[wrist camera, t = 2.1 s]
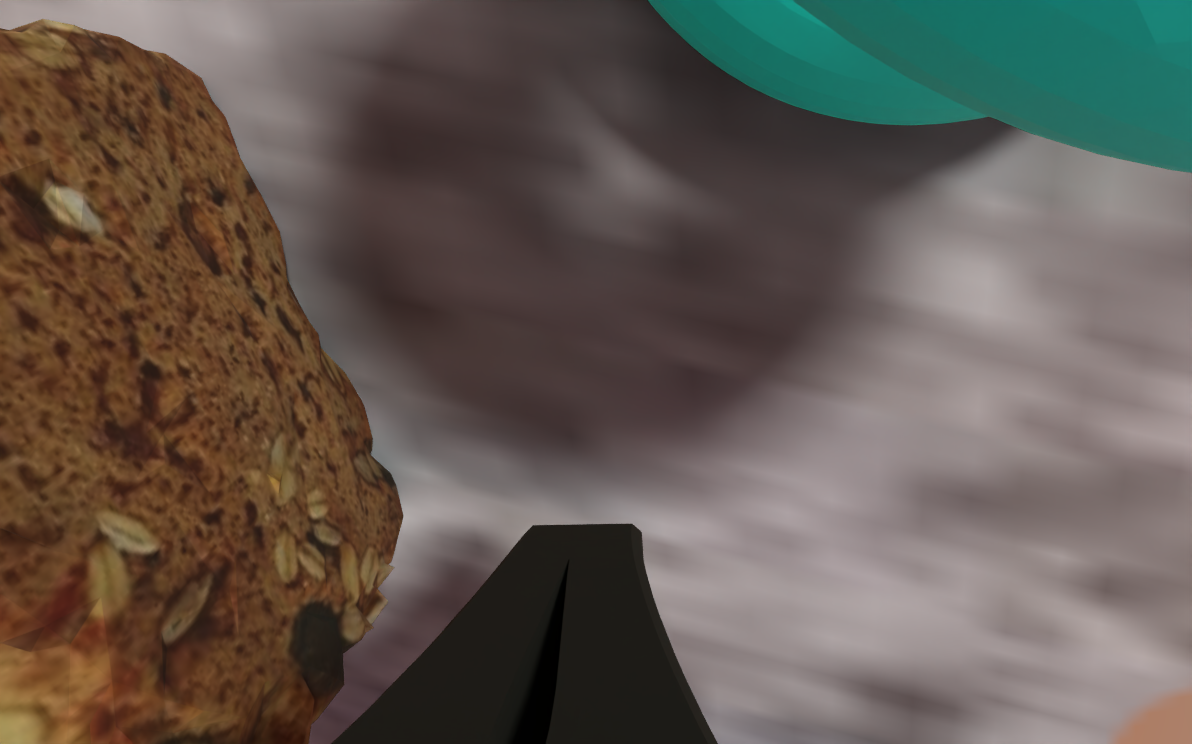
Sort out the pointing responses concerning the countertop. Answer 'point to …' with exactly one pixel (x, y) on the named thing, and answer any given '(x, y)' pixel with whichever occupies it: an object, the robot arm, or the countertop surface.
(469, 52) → the countertop surface
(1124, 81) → the donuts
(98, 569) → the bread
